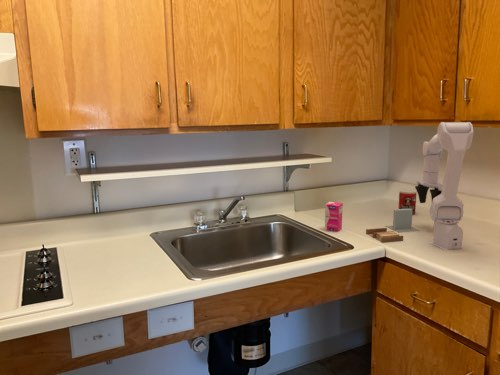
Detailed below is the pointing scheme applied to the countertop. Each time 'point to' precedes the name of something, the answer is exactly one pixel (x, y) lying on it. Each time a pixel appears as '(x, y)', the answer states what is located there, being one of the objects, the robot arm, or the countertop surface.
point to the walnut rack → (383, 239)
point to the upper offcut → (387, 234)
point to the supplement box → (333, 216)
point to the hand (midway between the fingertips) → (428, 204)
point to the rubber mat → (403, 229)
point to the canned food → (407, 200)
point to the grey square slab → (402, 219)
